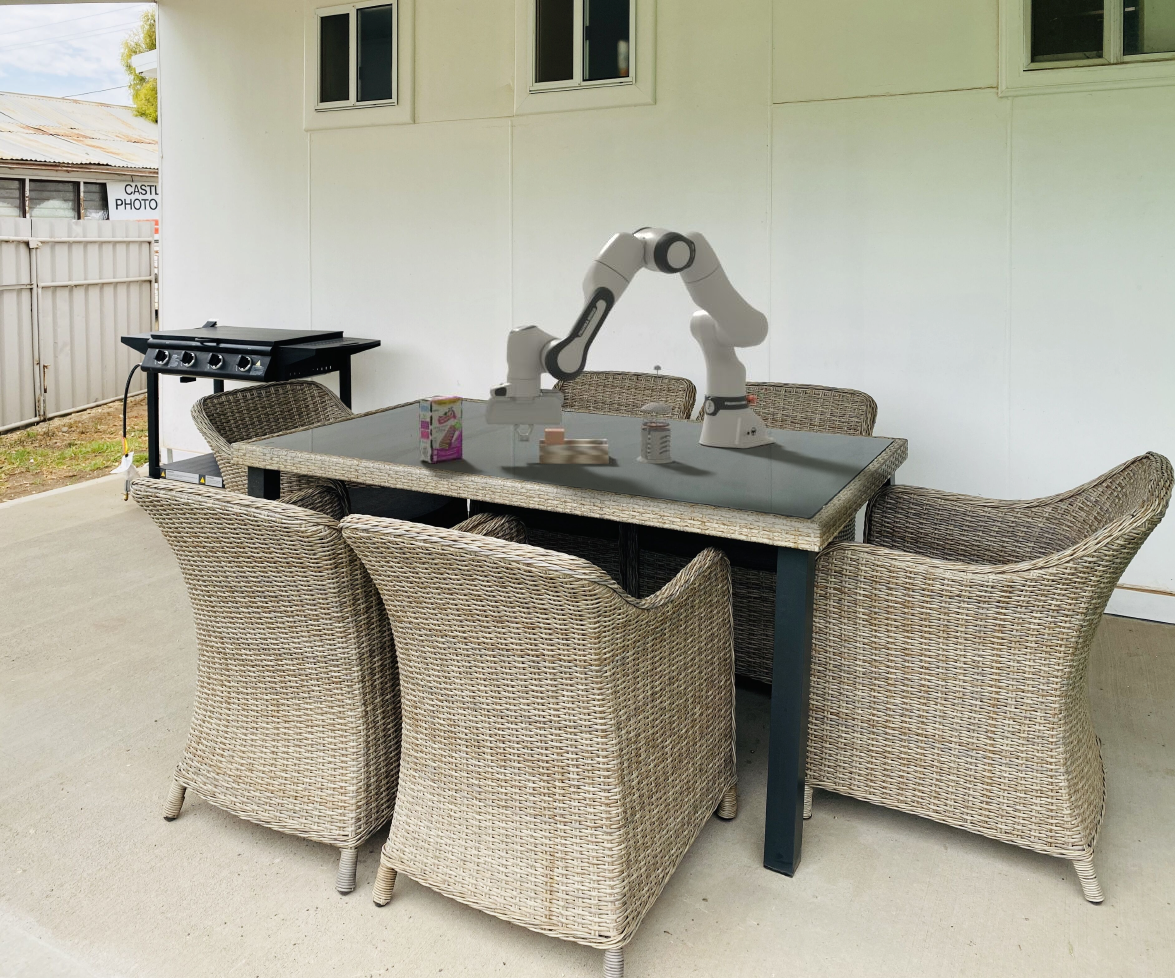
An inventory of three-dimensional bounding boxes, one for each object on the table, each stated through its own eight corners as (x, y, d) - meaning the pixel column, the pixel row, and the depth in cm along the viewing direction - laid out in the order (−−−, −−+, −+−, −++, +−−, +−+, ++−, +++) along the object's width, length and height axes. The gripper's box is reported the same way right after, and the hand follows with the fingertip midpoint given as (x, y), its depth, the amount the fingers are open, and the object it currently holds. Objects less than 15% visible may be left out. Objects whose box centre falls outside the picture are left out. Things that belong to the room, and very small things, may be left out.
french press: (679, 458, 260) (682, 364, 254) (660, 466, 250) (662, 368, 244) (647, 455, 264) (649, 362, 259) (626, 461, 255) (628, 366, 249)
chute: (605, 454, 264) (606, 438, 263) (608, 463, 252) (609, 446, 251) (539, 454, 263) (539, 438, 262) (539, 463, 252) (539, 446, 251)
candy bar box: (432, 464, 249) (430, 400, 246) (419, 461, 253) (417, 398, 249) (464, 458, 258) (463, 396, 254) (451, 455, 261) (449, 394, 257)
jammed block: (563, 449, 260) (563, 428, 259) (564, 453, 254) (564, 432, 253) (545, 449, 260) (545, 428, 259) (545, 453, 254) (545, 432, 253)
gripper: (563, 387, 257) (563, 439, 260) (485, 387, 256) (486, 439, 259) (564, 390, 250) (563, 443, 253) (484, 390, 250) (484, 443, 253)
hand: (524, 441), depth 256 cm, fingers closed
